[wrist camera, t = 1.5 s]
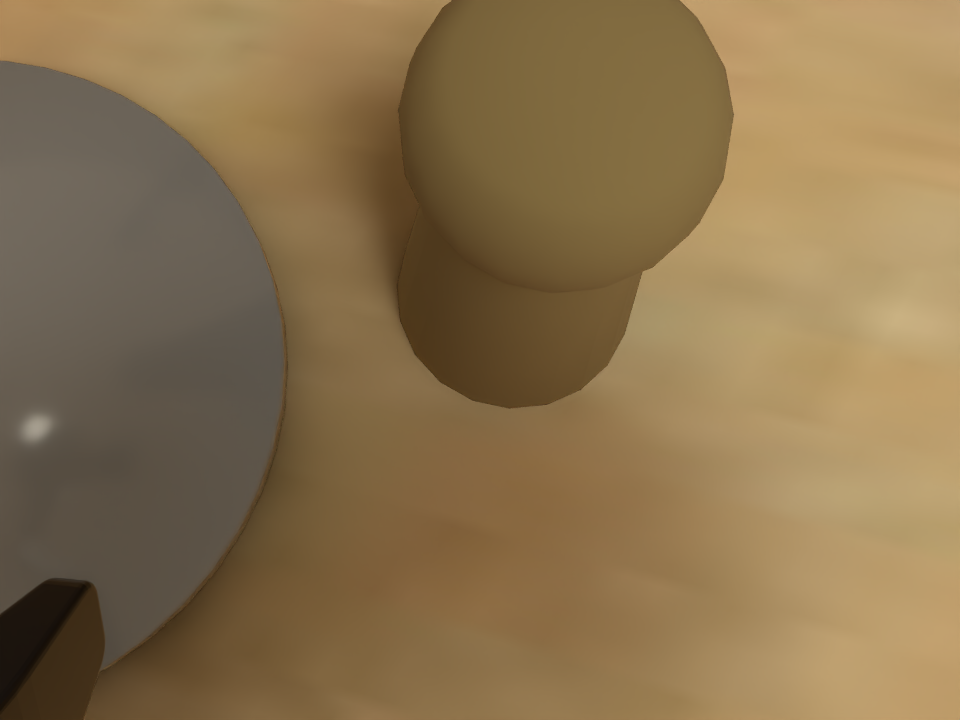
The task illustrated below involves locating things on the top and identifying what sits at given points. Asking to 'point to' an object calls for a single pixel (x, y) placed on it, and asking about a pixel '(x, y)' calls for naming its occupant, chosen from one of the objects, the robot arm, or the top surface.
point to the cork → (550, 182)
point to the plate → (125, 355)
